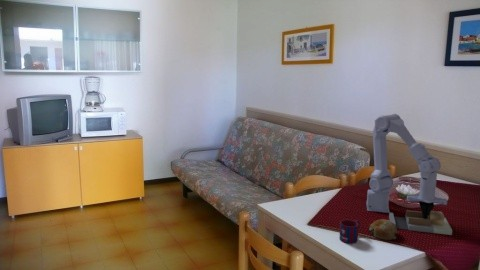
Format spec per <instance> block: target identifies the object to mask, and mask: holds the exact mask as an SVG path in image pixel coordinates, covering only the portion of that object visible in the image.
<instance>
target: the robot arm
mask: <svg viewBox="0 0 480 270" xmlns="http://www.w3.org/2000/svg"><path fill="white" fill-rule="evenodd" d="M373 127H374V128H373V130H372V140H373V141H372V142H373V143H372V145H373V160H374V162H373V164H374V171H372V173H371V174H370V180H369V182H368V183H369V188H370V189H367V195H366V196H367V197H366V202H365V203H366V211H369V212H377V213H378V212H379V213H387V214H389V212H390V208H389V200H390V191H391V188H392V187H393V186H394V179H393V177H392V172H391V171H389V170H388V154H387V153H388V152H387V150H388V149H387V135H388V134H390V133H395V134H397V135H398V136H399V138H400V139H401V140H402V141H403V142H404V143H405V144H406V146H407V147H408V152H409V153H410V155H411V156H412V158H413V159H414V160H415V161H416V162H417V164H418V166H417V167H418V170H419V172H420V180H419V191H418V195H407V196H406V202H417V203H418V204H419V207H420V209H421V212H422V217H423V219H427V218H428V215H429V213H430V212H431V211H433V209H434V208H435V204H437V205H438V204H439V205H444V206H447V205H448V200H447V199H446V198H442V197H437V196H436V188H437V177H438V171H440V169H441V166H442V165H441V162H440V159H438V158H437V157H435V156H433V155H432V154H430V152H428V150H427V149H426V146H425V144H423V143H420V142H417V141H416V139H415V138H414V137H413V135H412V134H411V133H410V131H409V130H408V129H407V127H406V125H405V122H404V120H403V119H402V118H401V117H400V115H399V114H396V113H393V114H386V115H380V116H378V117H377V118H376V119H375V120H374V126H373Z"/></svg>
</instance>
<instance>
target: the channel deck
mask: <svg viewBox="0 0 480 270" xmlns="http://www.w3.org/2000/svg"><path fill="white" fill-rule="evenodd" d="M388 220H390V221H391V222H393V223H394V224H395V226H396V227H397V230H405V231H413V232H422V233H428V234H429V233H431V234H439V235H440V234H441V235H449V236H452V235H453V229H452V227H451V225H450V223H449V222H448V220H447V218H446V217H444V226H440V225H430V224H431V220H430V219H428V218H427V219H423V217H422V211H419V210H418V211H417V210H408V209H406V211H405V217H400V216H394V212H390V211H389V213H388Z"/></svg>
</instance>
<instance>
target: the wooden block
mask: <svg viewBox="0 0 480 270" xmlns="http://www.w3.org/2000/svg"><path fill="white" fill-rule="evenodd" d="M444 218H445V215H444V213H443V211H436V210H431V212H430V213H429V215H428V219H430V220H431V224H430V225H440V226H444Z"/></svg>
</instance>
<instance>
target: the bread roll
mask: <svg viewBox="0 0 480 270" xmlns="http://www.w3.org/2000/svg"><path fill="white" fill-rule="evenodd" d="M368 232H369V233H370V235H371V234H372V236H373V238H374V237H375V238H376V237H377V239H379V240H385V241H386V240H387V241H390V240H396V239H397V236H398V229H397V227H396V226H395V224H394V223H393V222H391V221H390V219H384V218H381V219H377V220H374V221H373V222H372V223H371V224H370V225H369V228H368Z"/></svg>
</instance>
